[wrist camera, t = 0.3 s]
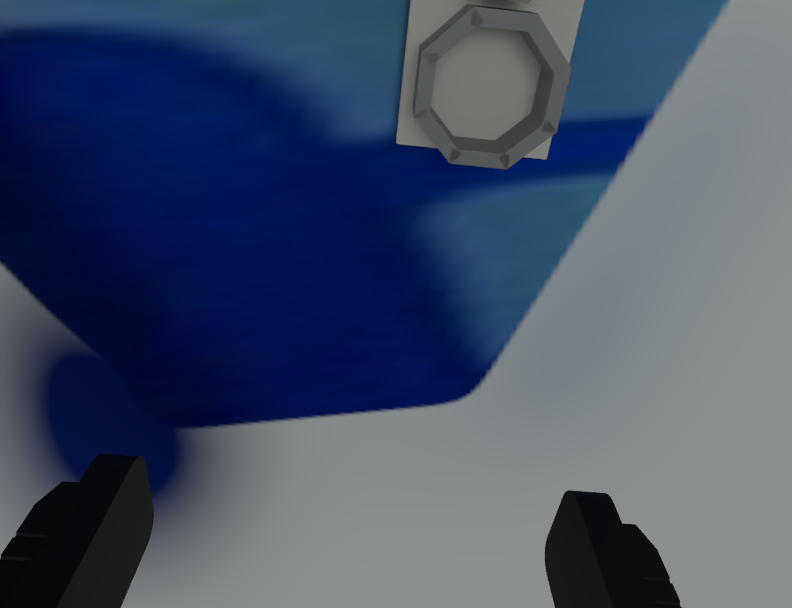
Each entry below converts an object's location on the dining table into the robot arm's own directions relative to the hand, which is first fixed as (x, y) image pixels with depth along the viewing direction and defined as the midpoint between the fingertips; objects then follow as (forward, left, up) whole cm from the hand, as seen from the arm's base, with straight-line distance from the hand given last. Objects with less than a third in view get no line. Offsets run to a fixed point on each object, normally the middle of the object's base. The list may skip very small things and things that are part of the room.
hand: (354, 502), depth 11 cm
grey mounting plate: (-7, +5, -27) cm, 29 cm away
